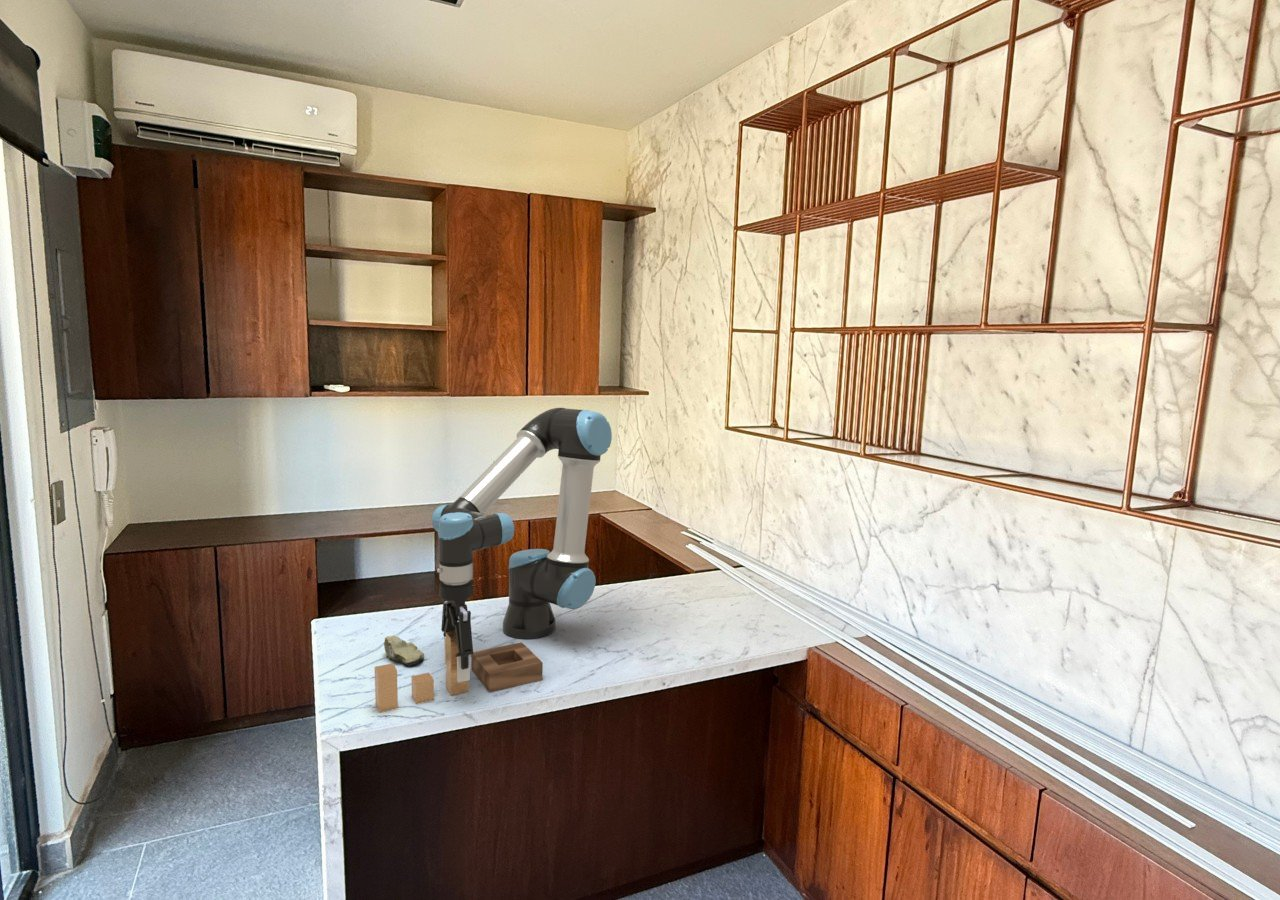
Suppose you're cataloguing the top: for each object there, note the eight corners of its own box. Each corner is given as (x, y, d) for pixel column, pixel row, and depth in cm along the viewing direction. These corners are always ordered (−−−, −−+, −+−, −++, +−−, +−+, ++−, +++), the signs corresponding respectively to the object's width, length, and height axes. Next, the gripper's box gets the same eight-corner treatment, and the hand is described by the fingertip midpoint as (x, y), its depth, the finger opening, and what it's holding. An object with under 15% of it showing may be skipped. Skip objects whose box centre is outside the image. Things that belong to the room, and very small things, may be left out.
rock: (421, 671, 175) (428, 649, 185) (420, 649, 174) (426, 628, 183) (377, 674, 174) (386, 651, 183) (375, 652, 172) (384, 630, 182)
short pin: (411, 696, 160) (411, 676, 160) (429, 692, 163) (428, 672, 162) (416, 704, 157) (415, 683, 156) (433, 700, 159) (433, 679, 158)
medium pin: (375, 704, 156) (374, 666, 155) (393, 700, 158) (393, 663, 157) (379, 712, 153) (378, 674, 152) (397, 708, 155) (397, 670, 154)
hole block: (471, 669, 175) (471, 652, 174) (521, 658, 182) (521, 642, 181) (489, 692, 163) (489, 674, 163) (542, 679, 170) (542, 662, 170)
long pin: (446, 688, 165) (445, 632, 163) (462, 684, 167) (462, 629, 165) (451, 695, 161) (450, 638, 159) (468, 691, 163) (467, 635, 161)
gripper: (427, 569, 167) (428, 656, 171) (454, 597, 149) (455, 695, 152) (457, 564, 171) (458, 650, 175) (487, 592, 153) (488, 687, 156)
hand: (456, 671), depth 163 cm, fingers open, 9 cm apart
